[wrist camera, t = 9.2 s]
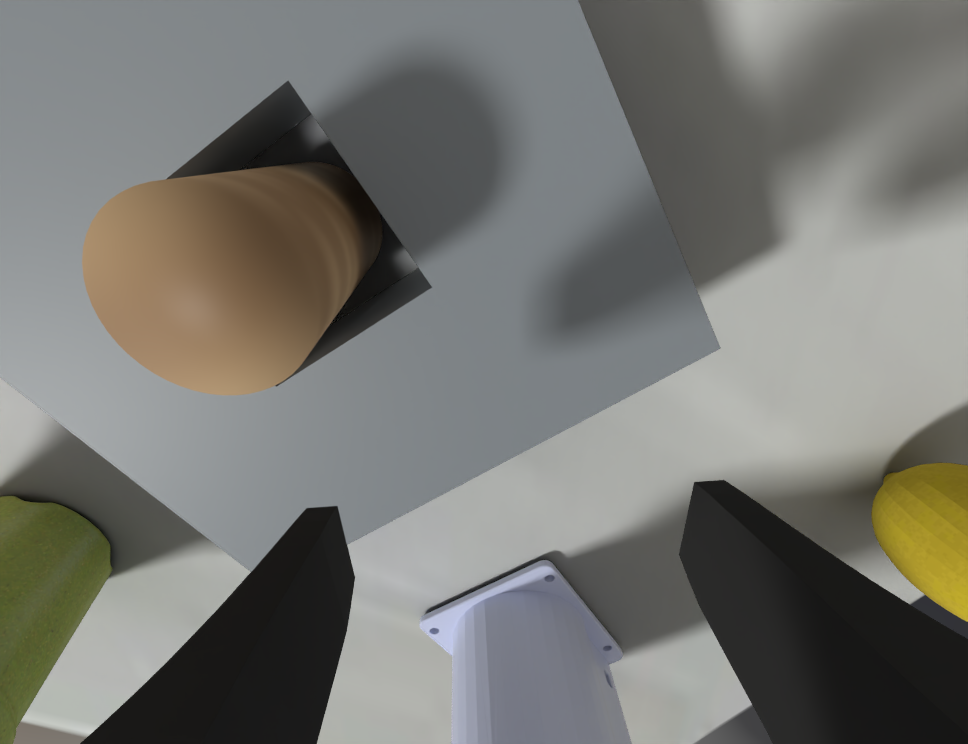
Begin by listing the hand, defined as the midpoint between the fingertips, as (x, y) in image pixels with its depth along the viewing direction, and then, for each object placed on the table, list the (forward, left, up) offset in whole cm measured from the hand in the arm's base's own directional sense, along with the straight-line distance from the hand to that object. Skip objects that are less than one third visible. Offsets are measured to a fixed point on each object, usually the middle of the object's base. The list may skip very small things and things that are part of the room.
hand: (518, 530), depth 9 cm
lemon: (-16, -13, -10) cm, 23 cm away
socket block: (+7, +2, -9) cm, 12 cm away
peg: (+7, +2, -9) cm, 12 cm away
